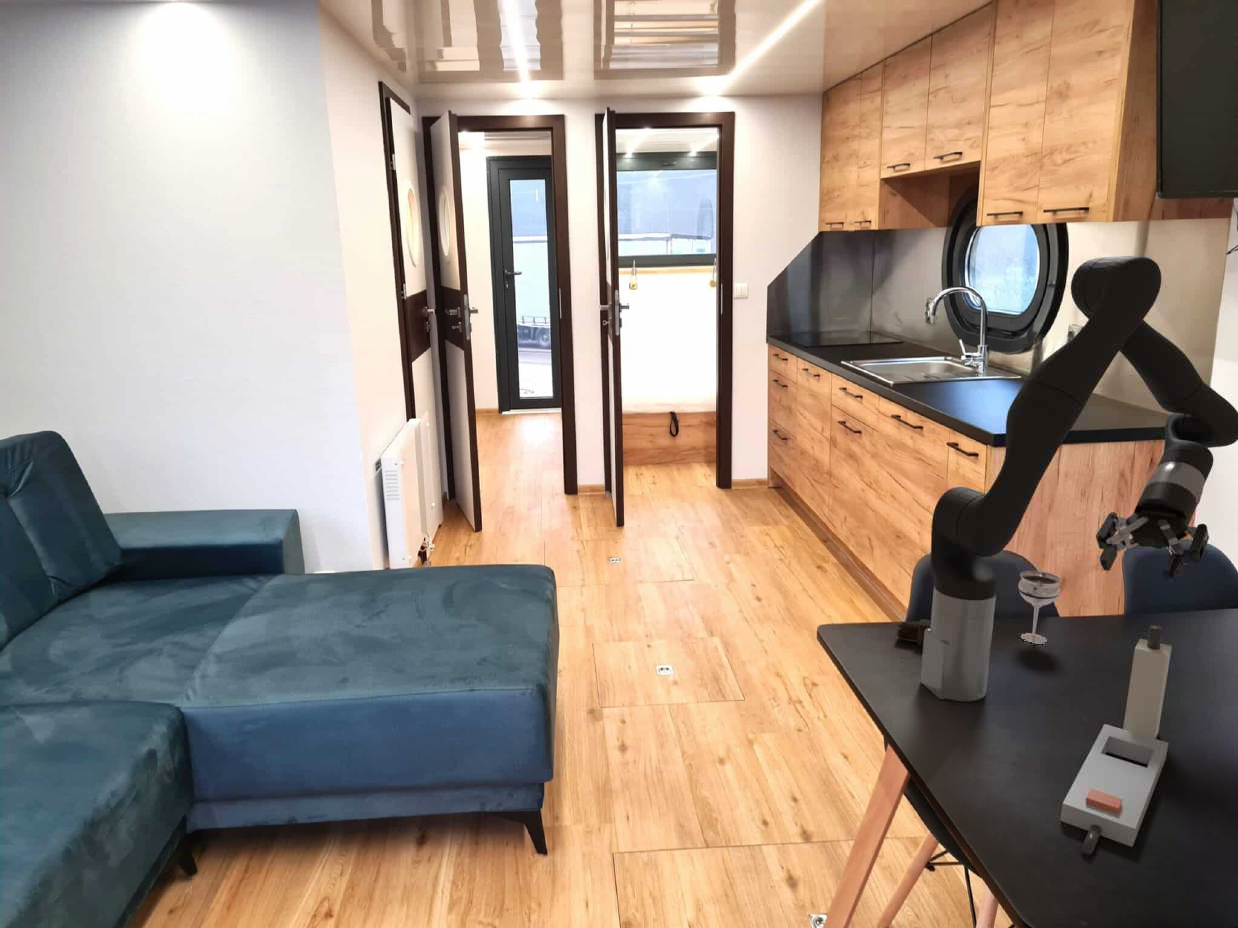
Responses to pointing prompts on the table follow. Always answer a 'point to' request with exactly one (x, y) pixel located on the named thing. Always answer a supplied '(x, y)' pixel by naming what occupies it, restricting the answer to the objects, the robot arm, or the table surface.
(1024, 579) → the wineglass
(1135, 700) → the plug
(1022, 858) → the table surface
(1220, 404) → the robot arm
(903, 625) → the bolt
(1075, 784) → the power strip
